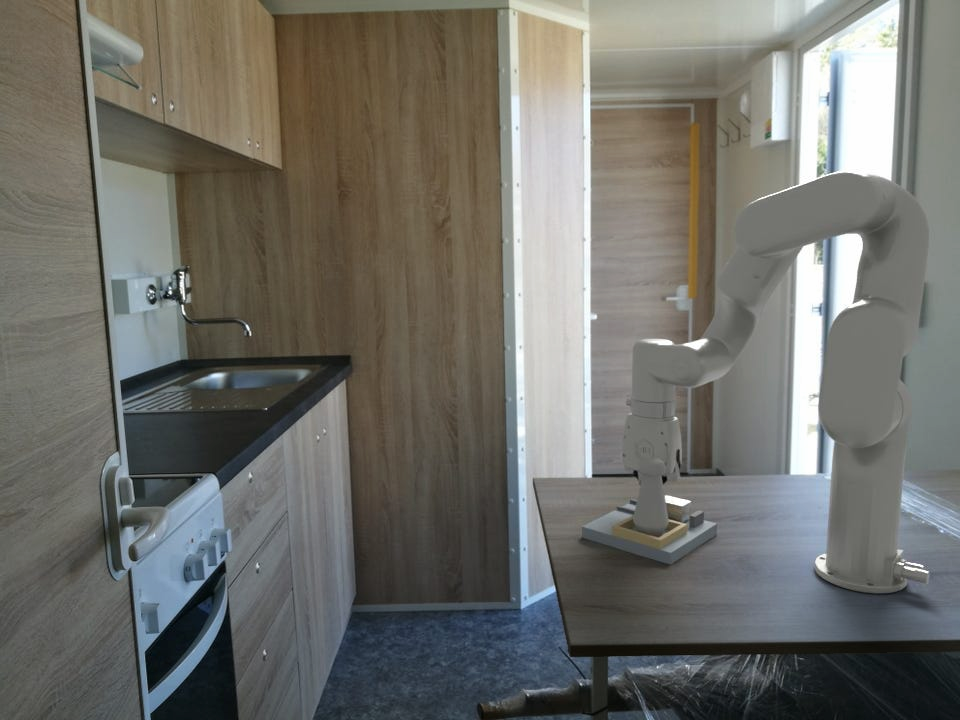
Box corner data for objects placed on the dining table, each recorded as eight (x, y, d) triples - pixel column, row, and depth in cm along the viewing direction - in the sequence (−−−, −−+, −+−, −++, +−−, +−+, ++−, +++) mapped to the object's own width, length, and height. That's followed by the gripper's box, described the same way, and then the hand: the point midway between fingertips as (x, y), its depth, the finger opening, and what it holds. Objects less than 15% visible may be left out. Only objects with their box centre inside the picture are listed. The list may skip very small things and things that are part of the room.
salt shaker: (671, 540, 123) (673, 464, 121) (636, 541, 123) (638, 464, 121) (663, 527, 128) (665, 454, 126) (630, 527, 128) (631, 454, 126)
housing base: (716, 534, 130) (717, 512, 129) (670, 564, 118) (671, 540, 118) (631, 511, 142) (632, 491, 141) (581, 537, 130) (582, 515, 129)
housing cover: (690, 517, 132) (691, 501, 132) (681, 522, 130) (682, 506, 129) (665, 510, 135) (665, 495, 135) (655, 516, 133) (656, 500, 132)
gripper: (605, 406, 135) (604, 503, 138) (681, 418, 125) (678, 523, 128) (627, 399, 140) (626, 493, 143) (702, 410, 130) (698, 511, 133)
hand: (650, 507), depth 135 cm, fingers closed
